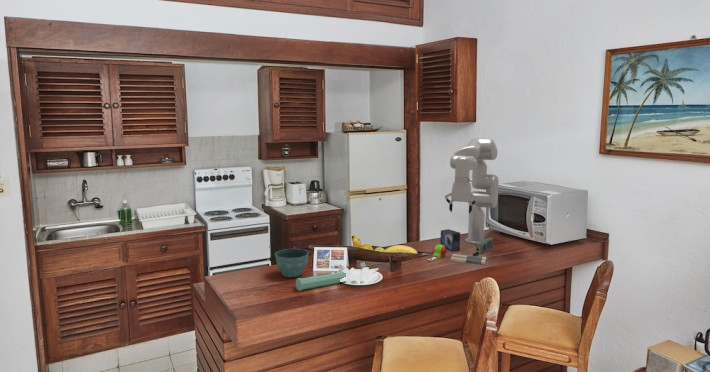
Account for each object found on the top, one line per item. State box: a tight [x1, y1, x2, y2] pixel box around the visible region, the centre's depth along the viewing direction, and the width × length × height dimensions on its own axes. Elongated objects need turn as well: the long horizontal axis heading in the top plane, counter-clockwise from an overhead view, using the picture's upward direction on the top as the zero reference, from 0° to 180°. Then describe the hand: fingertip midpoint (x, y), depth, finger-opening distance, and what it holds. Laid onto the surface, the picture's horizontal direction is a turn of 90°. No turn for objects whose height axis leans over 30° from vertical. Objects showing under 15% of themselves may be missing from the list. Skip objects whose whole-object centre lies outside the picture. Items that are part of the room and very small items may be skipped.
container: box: [295, 271, 347, 292], centre depth 228 cm, size 6×6×25 cm
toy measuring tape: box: [426, 243, 447, 263], centre depth 275 cm, size 6×19×7 cm, turn 143°
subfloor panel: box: [450, 253, 487, 265], centre depth 270 cm, size 9×18×2 cm, turn 72°
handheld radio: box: [472, 236, 494, 256], centre depth 287 cm, size 7×3×25 cm
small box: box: [439, 228, 461, 252], centre depth 293 cm, size 11×6×10 cm, turn 33°
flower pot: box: [274, 248, 309, 278], centre depth 242 cm, size 16×16×11 cm
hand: (460, 212), depth 266 cm, fingers open, 9 cm apart
